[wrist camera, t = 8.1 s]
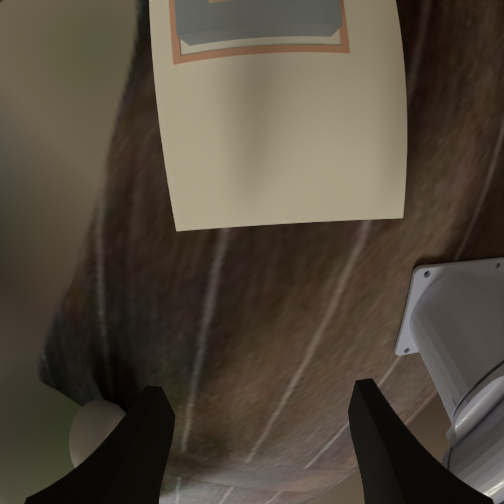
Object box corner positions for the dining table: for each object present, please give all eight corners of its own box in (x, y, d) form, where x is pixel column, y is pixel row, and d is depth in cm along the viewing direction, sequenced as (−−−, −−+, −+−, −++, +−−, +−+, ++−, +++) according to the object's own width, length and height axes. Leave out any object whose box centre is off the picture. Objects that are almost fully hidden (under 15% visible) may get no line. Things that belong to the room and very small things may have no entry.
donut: (148, 434, 29) (130, 507, 20) (123, 430, 29) (101, 499, 20) (114, 380, 25) (78, 469, 16) (85, 377, 25) (47, 458, 16)
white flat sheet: (376, -63, 9) (379, -67, 8) (398, 214, 17) (403, 218, 16) (151, -54, 10) (148, -59, 9) (179, 227, 18) (176, 231, 17)
